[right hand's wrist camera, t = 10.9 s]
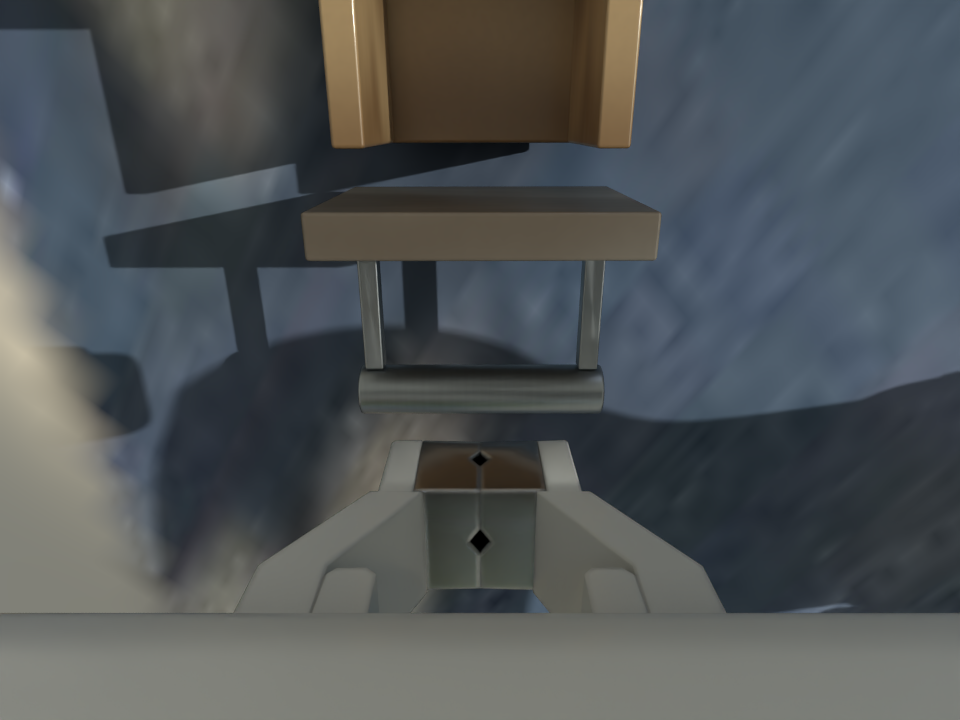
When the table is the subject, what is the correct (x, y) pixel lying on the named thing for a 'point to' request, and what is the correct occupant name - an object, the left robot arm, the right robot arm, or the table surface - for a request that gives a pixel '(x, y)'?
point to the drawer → (481, 210)
